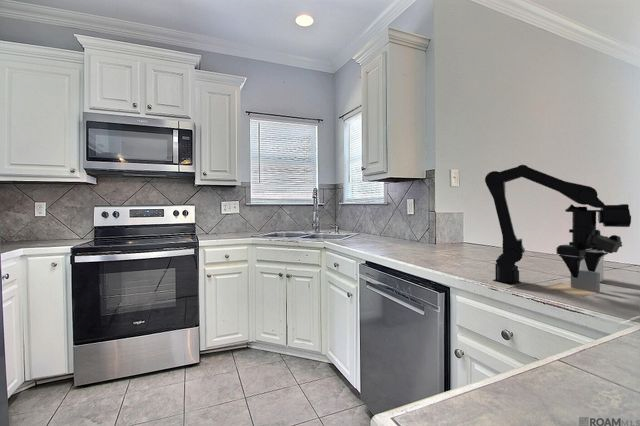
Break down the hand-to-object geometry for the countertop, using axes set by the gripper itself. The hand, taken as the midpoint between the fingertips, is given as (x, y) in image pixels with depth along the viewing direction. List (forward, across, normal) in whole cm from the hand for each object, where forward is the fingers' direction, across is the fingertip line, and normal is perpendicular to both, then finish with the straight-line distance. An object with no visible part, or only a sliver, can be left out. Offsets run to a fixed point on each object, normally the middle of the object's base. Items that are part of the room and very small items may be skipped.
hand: (583, 275), depth 100 cm
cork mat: (+5, -3, +2) cm, 6 cm away
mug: (+5, +18, +8) cm, 20 cm away
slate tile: (+4, 0, 0) cm, 4 cm away
